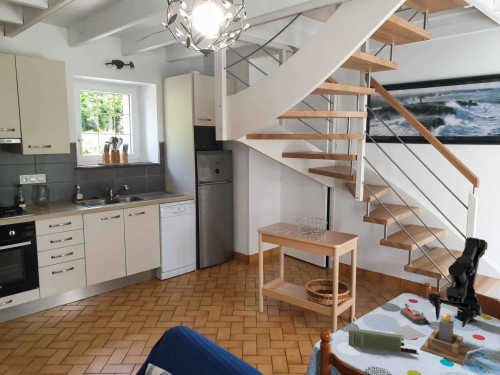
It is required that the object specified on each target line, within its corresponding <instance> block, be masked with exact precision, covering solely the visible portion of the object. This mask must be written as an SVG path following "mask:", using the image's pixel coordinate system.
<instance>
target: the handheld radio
mask: <svg viewBox="0 0 500 375" xmlns="http://www.w3.org/2000/svg"><path fill="white" fill-rule="evenodd" d="M404 341H405V339H404V335H398V334H396V333H390V332H389V333H388V332H381V331H375V330H369V329H362V328H354V327H348V345H349V346H351V347H352V346H353V347H358V346H359V347H358V348H364V347H365V348H366V349H371V348H372V350H378V351H381V350H384V351H385V350H386V351H392V352H398V353H400V352H406V353H411V354H412V353H413V354H417V352H418V351H417V349H414V348H407V347H405V348H404V346H405V343H404ZM365 348H364V349H365Z"/></svg>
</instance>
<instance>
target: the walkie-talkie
mask: <svg viewBox="0 0 500 375" xmlns="http://www.w3.org/2000/svg"><path fill="white" fill-rule="evenodd" d="M404 306H405V308H404V307H402V308H400V310H399V311H400V312H399V313H400V315H402V316H403V317H404V318H406V319H407V320H409V321H410V322H411V323H412V324H416V325H417V324H427V325H428V324H430V321H429V320H428V319H427V317H426V316H425V315H423V313H422V311H420V310H419V309H417V308H414V307H412V306H410V305H409V304H407V303H406V302H405V303H404Z"/></svg>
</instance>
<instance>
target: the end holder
mask: <svg viewBox="0 0 500 375" xmlns="http://www.w3.org/2000/svg"><path fill="white" fill-rule="evenodd" d="M469 349H470V345H466V344H464V336H462V335H458V334H455V333H453V342H452V344H451V343H448V342H445V341H441V340H439V328H435V329H433V331H432V332H431V333H430V335H429V336H428V338H427V339H426V340H425V341H424V343H423V344H422V345H421V346H420V349H419V350H420V351H423V352H427V353H430V354H432V355H435V356H438V357H441V358H443V359H444V360H446V361H450V362H453V363H455V364H458V365H462V363H463V361H464V359H465V357H466V355H467V354H468V352H469Z"/></svg>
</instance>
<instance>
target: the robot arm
mask: <svg viewBox="0 0 500 375" xmlns="http://www.w3.org/2000/svg"><path fill="white" fill-rule="evenodd" d="M488 246H489V245H488V242H487V240H485V239H483V238H482V239H481V238H479V237H467V238H465V242H464V248H463V251H462V253H461V255H460V256H458V257H456V259H455V261H453V263H451V264H450V266H448V268H447V270H448V275H449V278H450V280H451V283H450V285H449V286H446V289H445V297H446V298H444V297H443V298H442V297H441V294H440V293H435V292H429V293H428V296H427V298H428V301H429V304H431V305H432V307H434V309H435V317H436V318H435V319H436V321H438V320H439V319H440V314H441V308H442V307H441V304H445V305H448V306H453V307H457V313H456V315H455V316H454V318H456V319H457V320H459V321H461V322H462V323H461V327H462V328H464V327H466V325H467V324H469V323H475V322H477V319H475V318H477V316H478V317H481V316H482V313H483V312H482V311H483V310H482V305H481V304H480V303H479V301H480V300H479V299H478V295H477V293H476V290H475V285H476V284H475V283H476V279H477V273H478V270H479V268H478V267H479V263H480V259H481V258H482V257H483V256H485V253H486V251H487V250H488Z"/></svg>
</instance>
